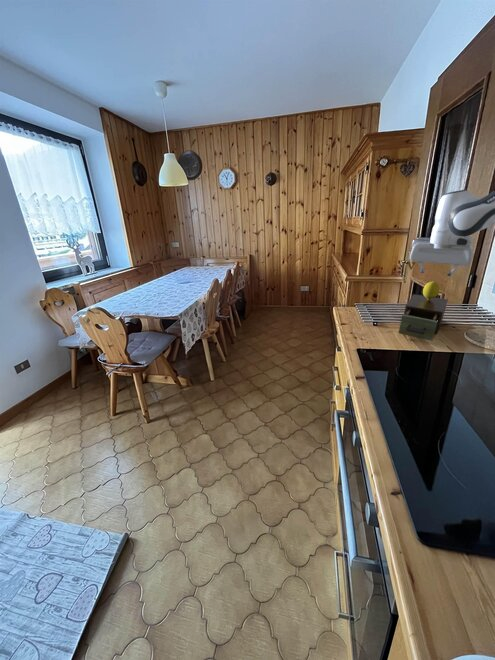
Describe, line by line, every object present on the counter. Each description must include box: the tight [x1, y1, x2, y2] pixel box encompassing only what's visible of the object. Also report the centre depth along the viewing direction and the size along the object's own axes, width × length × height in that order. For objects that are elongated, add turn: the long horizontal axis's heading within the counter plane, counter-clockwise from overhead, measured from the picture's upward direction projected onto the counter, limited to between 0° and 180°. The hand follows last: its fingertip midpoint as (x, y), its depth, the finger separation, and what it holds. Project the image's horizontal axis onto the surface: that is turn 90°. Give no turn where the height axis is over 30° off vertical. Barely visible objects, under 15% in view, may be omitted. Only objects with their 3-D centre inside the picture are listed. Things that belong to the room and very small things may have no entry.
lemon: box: [422, 280, 440, 300], centre depth 116 cm, size 6×6×8 cm
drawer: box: [397, 308, 439, 342], centre depth 110 cm, size 18×12×8 cm, turn 142°
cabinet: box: [403, 293, 449, 336], centre depth 118 cm, size 15×13×10 cm
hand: (435, 274), depth 113 cm, fingers open, 8 cm apart
